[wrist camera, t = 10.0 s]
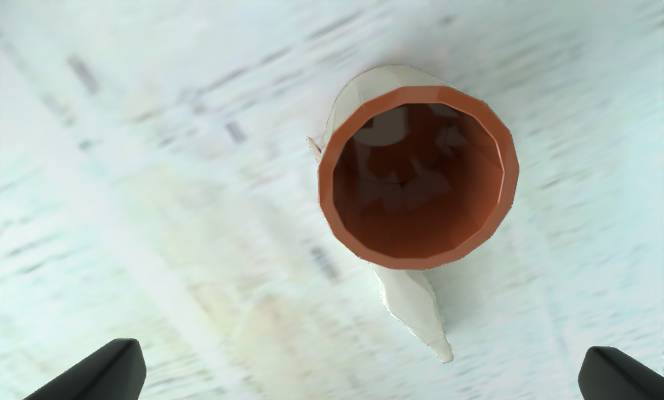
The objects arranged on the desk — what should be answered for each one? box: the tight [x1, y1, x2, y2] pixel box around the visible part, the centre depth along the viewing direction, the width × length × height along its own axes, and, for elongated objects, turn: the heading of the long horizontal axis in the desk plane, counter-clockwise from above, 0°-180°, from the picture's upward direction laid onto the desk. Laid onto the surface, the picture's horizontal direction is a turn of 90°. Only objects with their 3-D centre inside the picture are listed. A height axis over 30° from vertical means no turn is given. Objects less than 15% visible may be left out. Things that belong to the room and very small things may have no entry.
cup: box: [318, 65, 519, 270], centre depth 14 cm, size 6×6×7 cm
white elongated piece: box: [306, 137, 454, 363], centre depth 19 cm, size 15×3×2 cm, turn 31°
